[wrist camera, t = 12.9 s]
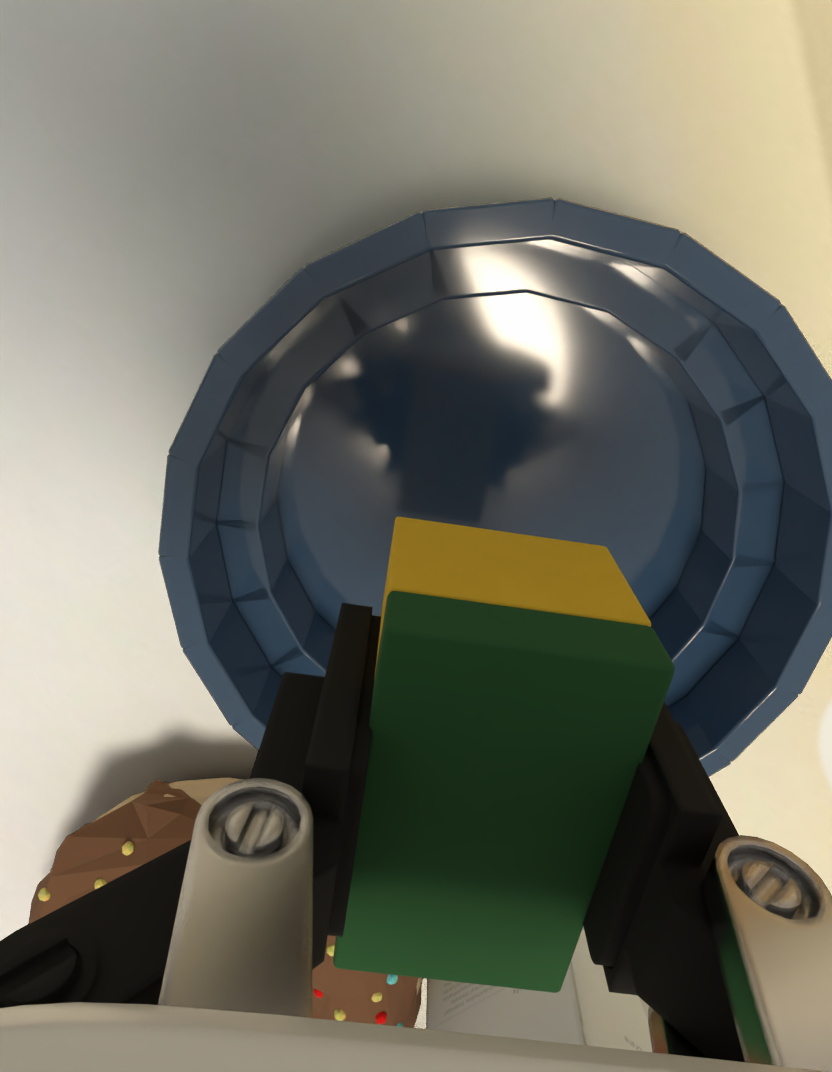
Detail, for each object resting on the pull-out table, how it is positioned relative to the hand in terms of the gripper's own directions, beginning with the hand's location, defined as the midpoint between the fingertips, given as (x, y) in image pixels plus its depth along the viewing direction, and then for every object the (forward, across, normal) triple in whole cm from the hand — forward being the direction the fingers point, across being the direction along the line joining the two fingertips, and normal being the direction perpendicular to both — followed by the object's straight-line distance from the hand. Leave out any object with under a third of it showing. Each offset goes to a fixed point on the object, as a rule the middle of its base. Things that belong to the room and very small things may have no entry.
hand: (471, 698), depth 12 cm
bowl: (+9, -1, 0) cm, 9 cm away
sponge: (+1, 0, 0) cm, 1 cm away
